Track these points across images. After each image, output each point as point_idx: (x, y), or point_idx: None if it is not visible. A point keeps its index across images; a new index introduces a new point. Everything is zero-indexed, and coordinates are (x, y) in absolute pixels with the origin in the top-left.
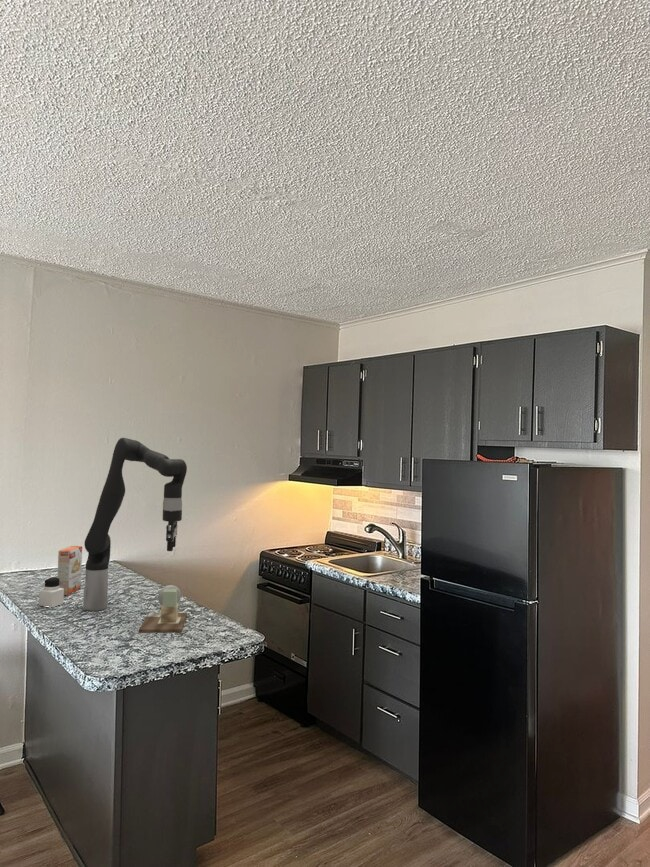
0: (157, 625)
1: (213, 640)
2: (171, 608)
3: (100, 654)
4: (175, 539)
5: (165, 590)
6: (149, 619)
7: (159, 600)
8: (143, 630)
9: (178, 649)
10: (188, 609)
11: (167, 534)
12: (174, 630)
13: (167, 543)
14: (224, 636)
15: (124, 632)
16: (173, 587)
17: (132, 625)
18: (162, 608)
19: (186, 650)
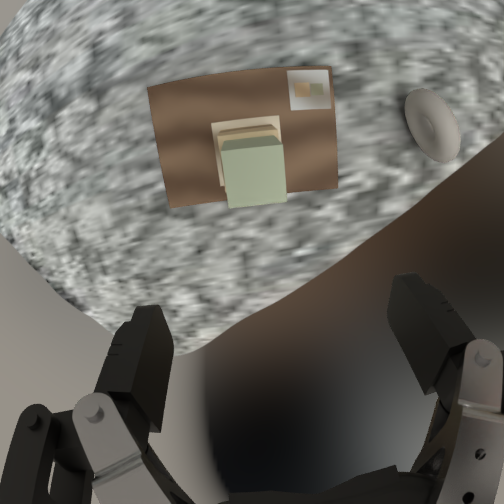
0: (194, 127)
1: (133, 289)
2: (223, 173)
3: (9, 84)
4: (419, 382)
5: (250, 155)
6: (257, 83)
7: (411, 93)
8: (149, 100)
9: (62, 232)
10: (395, 178)
11: (12, 484)
12: (166, 188)
13: (115, 374)
14: (164, 305)
15: (150, 47)
16: (445, 144)
17: (221, 43)
18: (218, 141)
19: (63, 249)
